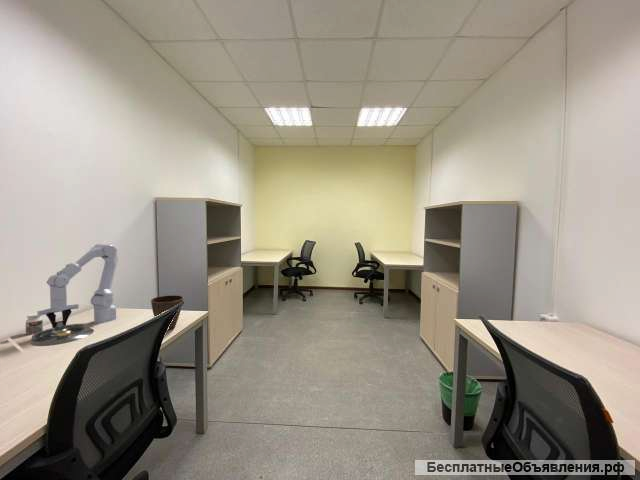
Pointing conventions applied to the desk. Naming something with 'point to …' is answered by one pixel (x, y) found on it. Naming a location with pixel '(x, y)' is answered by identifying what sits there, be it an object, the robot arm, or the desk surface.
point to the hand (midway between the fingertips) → (59, 326)
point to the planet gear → (59, 327)
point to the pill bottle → (34, 324)
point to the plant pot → (166, 306)
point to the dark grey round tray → (61, 335)
